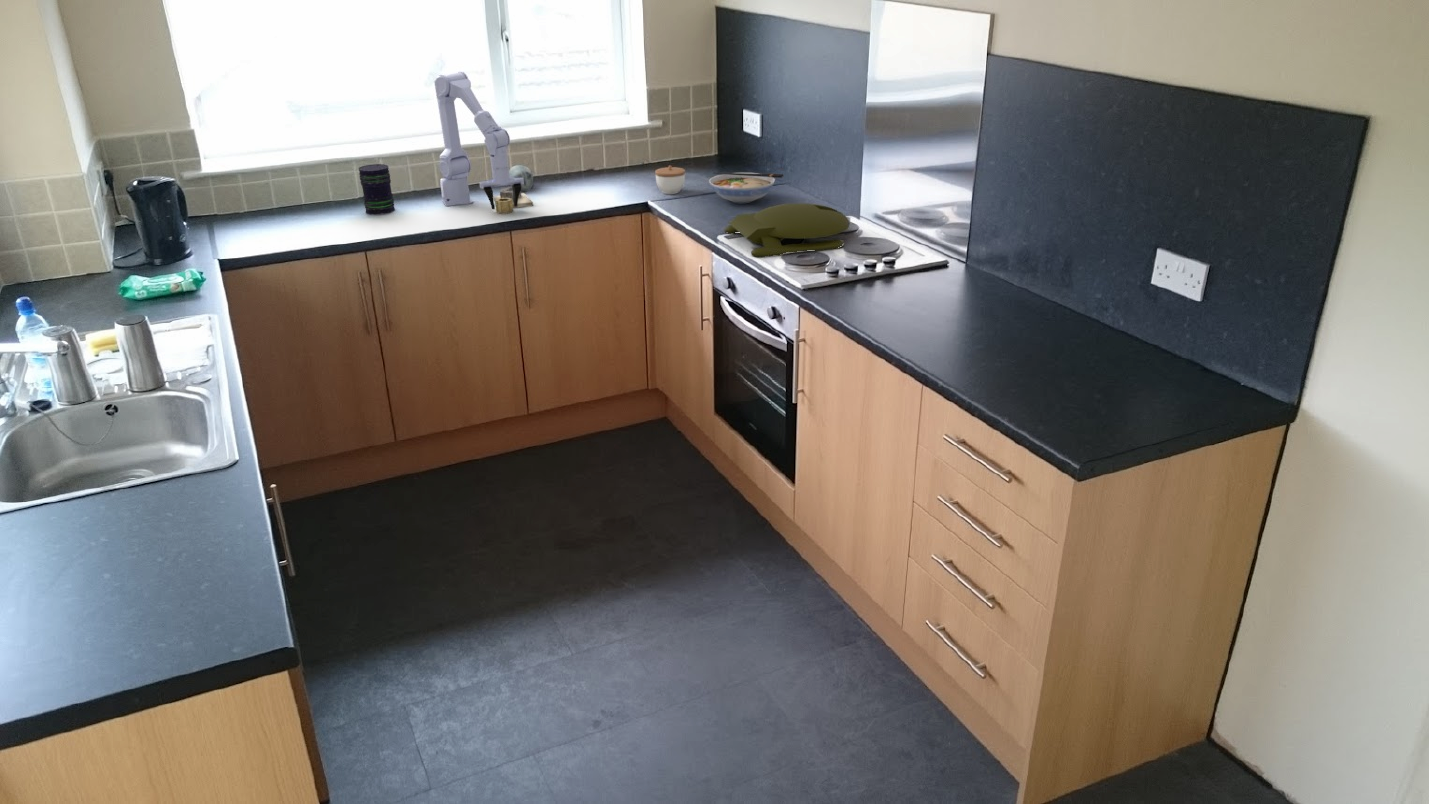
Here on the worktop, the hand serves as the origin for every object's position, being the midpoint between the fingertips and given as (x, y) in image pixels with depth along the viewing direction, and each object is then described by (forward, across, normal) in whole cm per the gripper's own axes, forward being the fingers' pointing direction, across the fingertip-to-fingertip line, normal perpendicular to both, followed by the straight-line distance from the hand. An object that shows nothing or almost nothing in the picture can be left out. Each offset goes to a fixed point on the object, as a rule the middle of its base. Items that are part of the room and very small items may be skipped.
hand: (504, 207), depth 349 cm
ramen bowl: (+2, +78, -22) cm, 81 cm away
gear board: (+1, +5, +10) cm, 12 cm away
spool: (+2, +12, +30) cm, 32 cm away
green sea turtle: (+2, +74, -70) cm, 102 cm away
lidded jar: (+2, +60, 0) cm, 60 cm away
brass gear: (+1, 0, 0) cm, 1 cm away
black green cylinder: (+2, -39, +20) cm, 44 cm away
